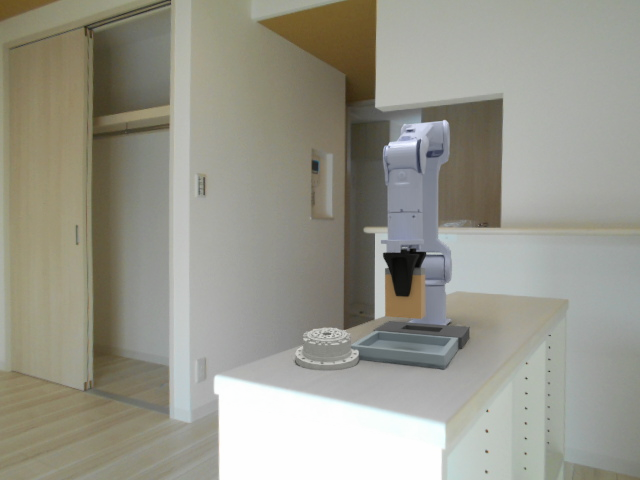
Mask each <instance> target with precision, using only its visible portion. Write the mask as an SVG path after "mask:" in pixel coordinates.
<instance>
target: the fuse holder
mask: <svg viewBox="0 0 640 480" xmlns="http://www.w3.org/2000/svg"><path fill="white" fill-rule="evenodd" d="M372 330H373V331H372V332H374V331H386V332H397V333H409V334H421V335H432V336H444V337H456V338H458V350H459V349H460V350H463V348H464V346H466V343H467V342H468V340H469V338H470V336H471V335H470V326H462V325H461V326H460V325H450V324H449V325H448V324H447V325H436V324H423V323H410V322H409V321H397V320H396V321H395V320H388V321H387V322H385V323H383V324H381V325H380V326H378V327H376V328H375V329H372Z"/></svg>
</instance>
